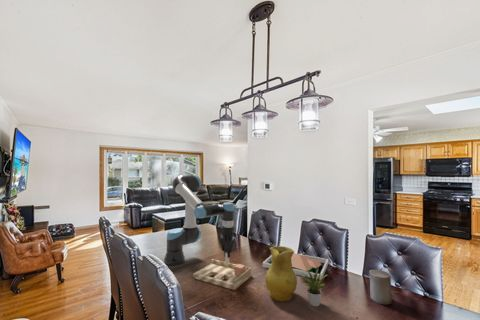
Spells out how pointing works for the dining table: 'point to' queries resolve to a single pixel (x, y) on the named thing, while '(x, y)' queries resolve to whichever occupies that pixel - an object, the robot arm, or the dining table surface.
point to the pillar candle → (380, 286)
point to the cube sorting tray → (222, 274)
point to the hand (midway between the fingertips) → (227, 262)
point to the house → (304, 262)
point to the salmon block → (239, 269)
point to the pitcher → (281, 274)
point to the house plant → (314, 288)
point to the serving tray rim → (299, 272)
